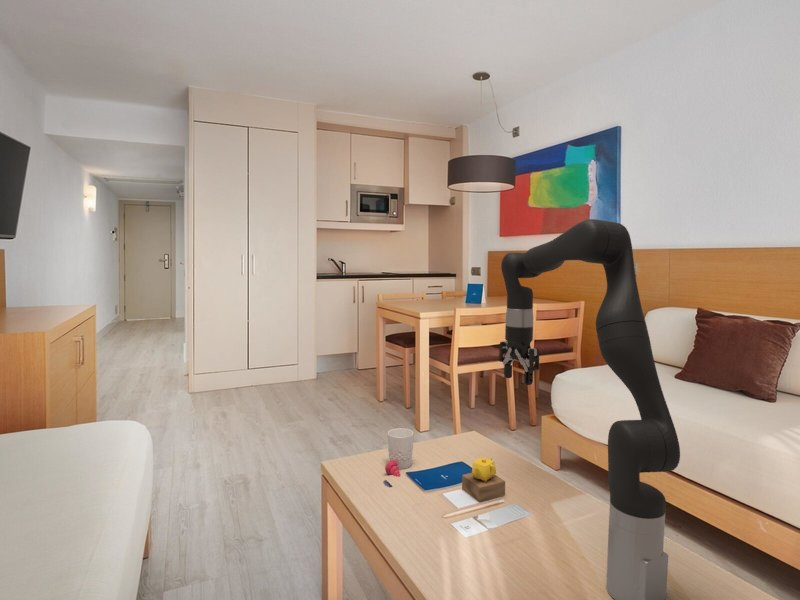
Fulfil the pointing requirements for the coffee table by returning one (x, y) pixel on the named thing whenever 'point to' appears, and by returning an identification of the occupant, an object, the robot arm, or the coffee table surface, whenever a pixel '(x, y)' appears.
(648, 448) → the robot arm
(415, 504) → the coffee table surface
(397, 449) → the white cup
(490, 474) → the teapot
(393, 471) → the toy pieces
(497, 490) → the base block
